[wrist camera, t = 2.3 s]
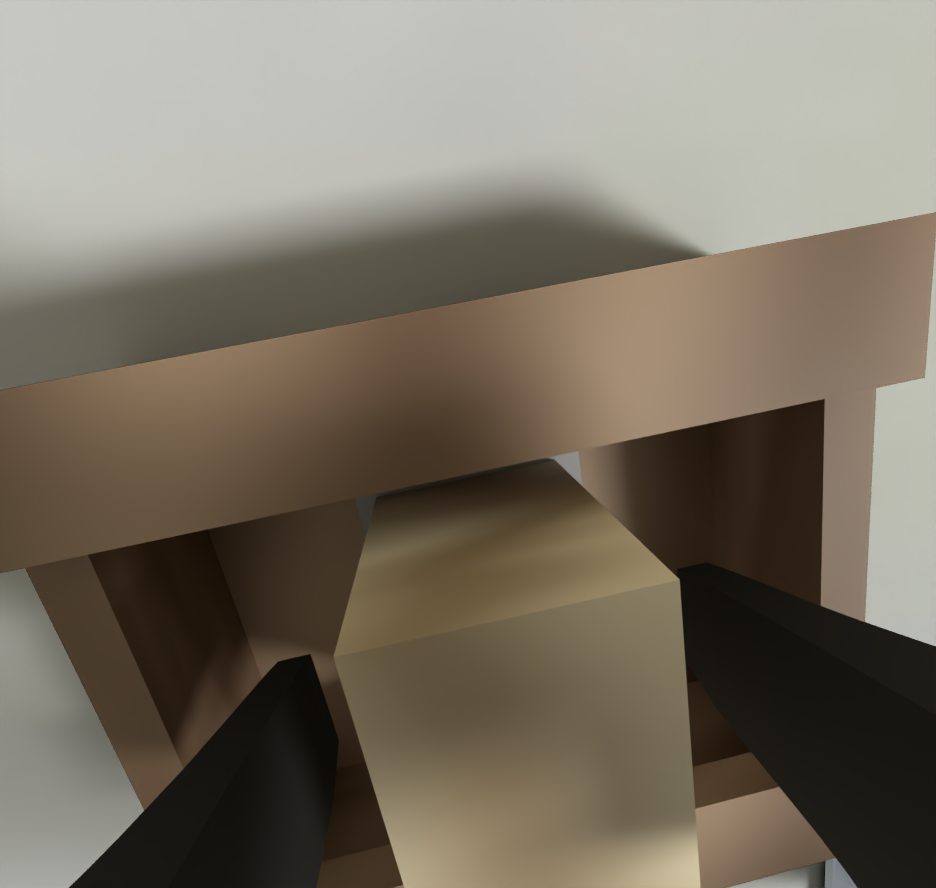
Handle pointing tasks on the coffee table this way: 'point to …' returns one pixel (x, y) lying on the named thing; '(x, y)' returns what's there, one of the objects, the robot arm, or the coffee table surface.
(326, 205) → the coffee table surface
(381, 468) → the slotted box
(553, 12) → the coffee table surface
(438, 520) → the maple block
